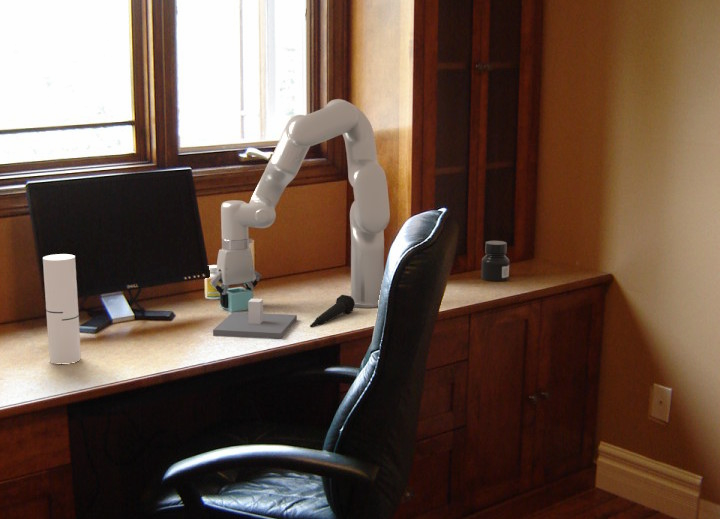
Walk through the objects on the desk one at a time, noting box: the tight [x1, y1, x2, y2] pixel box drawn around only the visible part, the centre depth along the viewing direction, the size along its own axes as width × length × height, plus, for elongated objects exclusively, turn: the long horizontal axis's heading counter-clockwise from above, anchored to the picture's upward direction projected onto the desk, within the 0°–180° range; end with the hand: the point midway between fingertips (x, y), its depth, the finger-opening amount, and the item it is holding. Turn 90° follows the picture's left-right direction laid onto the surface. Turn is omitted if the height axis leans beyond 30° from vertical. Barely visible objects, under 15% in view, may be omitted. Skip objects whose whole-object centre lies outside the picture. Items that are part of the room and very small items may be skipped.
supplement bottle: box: [203, 264, 221, 300], centre depth 287 cm, size 5×5×10 cm
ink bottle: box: [480, 240, 510, 282], centre depth 312 cm, size 10×9×12 cm
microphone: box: [309, 294, 355, 328], centre depth 265 cm, size 6×6×20 cm
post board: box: [212, 298, 298, 340], centre depth 256 cm, size 18×18×8 cm
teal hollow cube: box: [219, 286, 254, 313], centre depth 276 cm, size 7×7×5 cm
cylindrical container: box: [42, 253, 82, 364], centre depth 226 cm, size 7×7×25 cm
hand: (236, 304), depth 277 cm, fingers closed on teal hollow cube, 7 cm apart
